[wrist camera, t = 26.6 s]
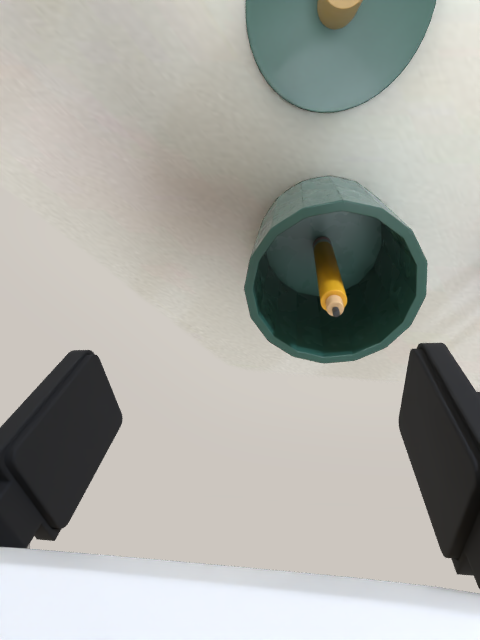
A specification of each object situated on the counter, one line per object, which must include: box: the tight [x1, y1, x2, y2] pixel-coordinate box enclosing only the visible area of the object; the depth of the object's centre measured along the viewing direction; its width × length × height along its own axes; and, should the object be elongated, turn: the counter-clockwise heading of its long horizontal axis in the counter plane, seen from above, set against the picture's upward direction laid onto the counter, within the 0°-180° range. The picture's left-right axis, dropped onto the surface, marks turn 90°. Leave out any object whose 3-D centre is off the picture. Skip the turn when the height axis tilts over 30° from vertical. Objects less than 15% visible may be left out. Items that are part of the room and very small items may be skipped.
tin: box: [244, 176, 427, 363], centre depth 26 cm, size 11×11×10 cm
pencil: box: [313, 237, 347, 317], centre depth 25 cm, size 2×2×13 cm
